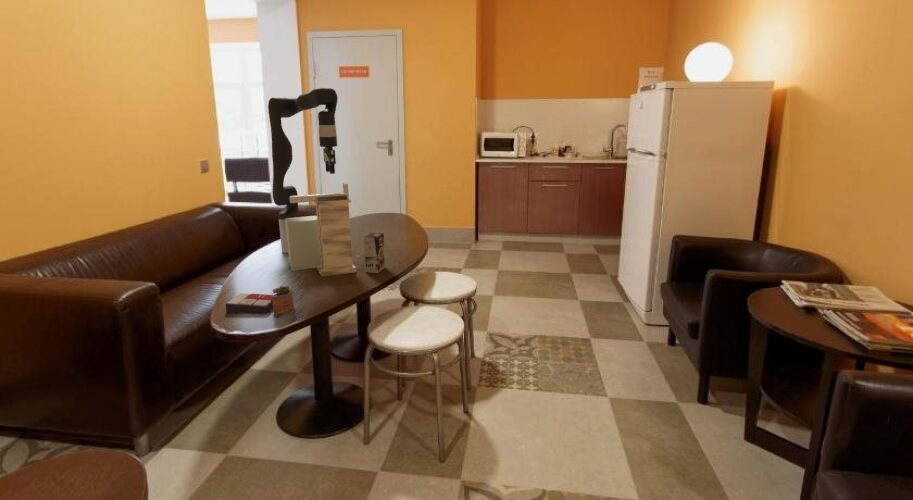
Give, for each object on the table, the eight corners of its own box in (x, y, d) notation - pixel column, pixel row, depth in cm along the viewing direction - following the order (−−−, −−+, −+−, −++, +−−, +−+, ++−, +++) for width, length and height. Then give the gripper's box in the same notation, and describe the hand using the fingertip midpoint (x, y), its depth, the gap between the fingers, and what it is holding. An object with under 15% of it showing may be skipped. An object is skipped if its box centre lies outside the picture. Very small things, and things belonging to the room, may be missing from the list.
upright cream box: (289, 264, 232) (284, 218, 226) (324, 260, 238) (320, 215, 232) (292, 270, 223) (287, 222, 217) (328, 266, 229) (324, 219, 224)
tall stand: (317, 269, 224) (311, 195, 215) (350, 265, 230) (346, 193, 221) (322, 276, 214) (315, 199, 206) (356, 272, 221) (351, 196, 212)
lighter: (290, 309, 179) (288, 282, 176) (297, 311, 177) (294, 284, 174) (271, 316, 172) (268, 289, 170) (277, 318, 170) (274, 290, 168)
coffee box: (378, 273, 219) (377, 237, 214) (365, 272, 220) (363, 236, 216) (385, 267, 227) (384, 232, 223) (372, 266, 228) (370, 232, 224)
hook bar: (290, 202, 208) (288, 186, 207) (347, 197, 218) (346, 183, 216) (290, 203, 206) (289, 187, 204) (348, 198, 215) (347, 183, 214)
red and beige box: (266, 305, 174) (224, 302, 174) (267, 316, 175) (225, 313, 175) (279, 294, 184) (239, 291, 185) (280, 305, 185) (240, 302, 186)
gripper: (316, 135, 224) (319, 171, 228) (322, 136, 212) (325, 174, 216) (333, 134, 227) (335, 170, 232) (339, 136, 215) (342, 173, 219)
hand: (330, 172), depth 224 cm, fingers open, 8 cm apart
